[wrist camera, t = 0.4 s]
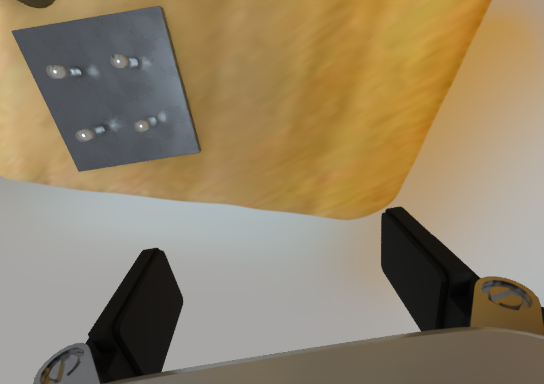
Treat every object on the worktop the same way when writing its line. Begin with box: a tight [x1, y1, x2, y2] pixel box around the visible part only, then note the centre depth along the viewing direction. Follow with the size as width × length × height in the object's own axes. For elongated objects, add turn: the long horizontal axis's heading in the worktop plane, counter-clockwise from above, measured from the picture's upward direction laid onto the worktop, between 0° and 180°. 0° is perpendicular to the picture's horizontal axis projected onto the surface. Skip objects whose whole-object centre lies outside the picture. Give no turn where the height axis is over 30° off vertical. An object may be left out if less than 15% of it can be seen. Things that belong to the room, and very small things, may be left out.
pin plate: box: [12, 6, 201, 172], centre depth 34 cm, size 18×18×5 cm
